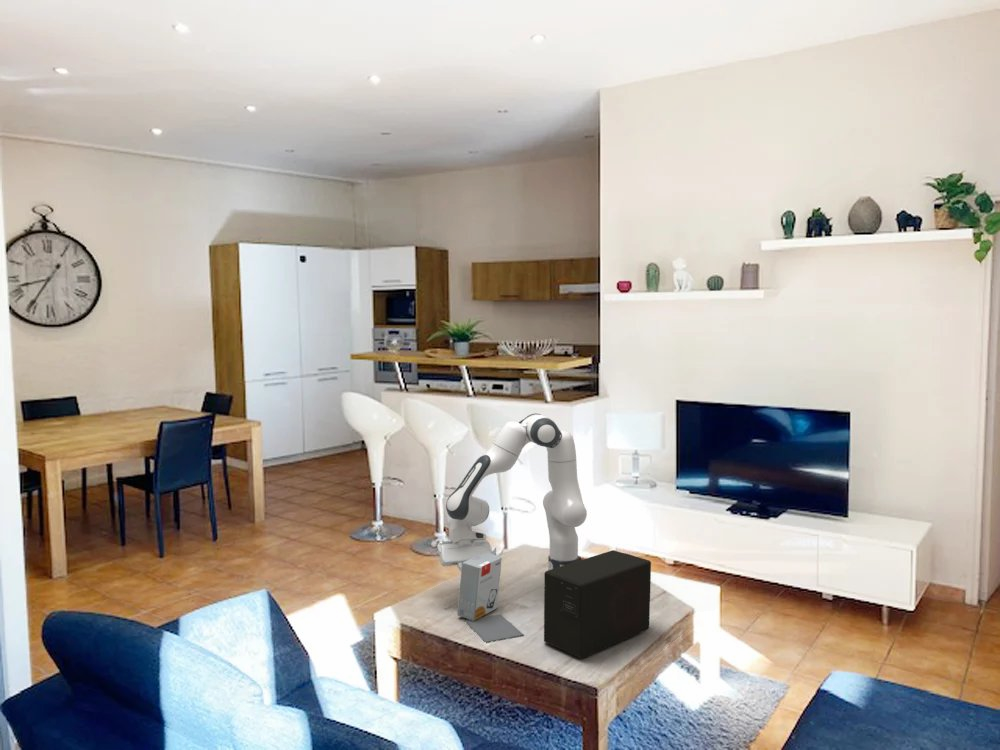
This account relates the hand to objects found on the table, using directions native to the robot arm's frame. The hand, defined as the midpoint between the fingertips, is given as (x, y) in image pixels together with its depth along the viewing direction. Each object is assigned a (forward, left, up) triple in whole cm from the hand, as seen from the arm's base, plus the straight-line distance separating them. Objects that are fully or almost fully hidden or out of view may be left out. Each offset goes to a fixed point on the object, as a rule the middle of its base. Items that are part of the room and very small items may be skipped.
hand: (470, 573), depth 282 cm
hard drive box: (-1, +5, -13) cm, 14 cm away
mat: (-1, +19, -13) cm, 23 cm away
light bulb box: (-20, -32, -14) cm, 40 cm away
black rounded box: (-30, +38, -14) cm, 51 cm away
